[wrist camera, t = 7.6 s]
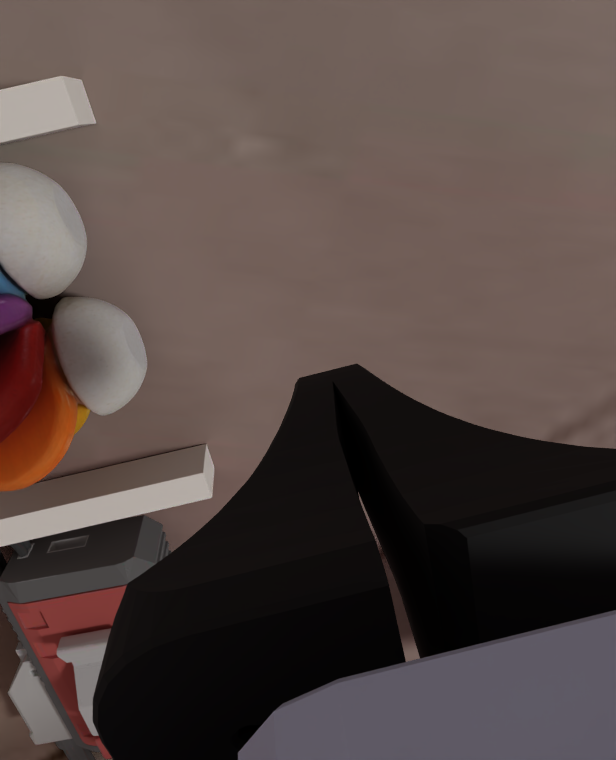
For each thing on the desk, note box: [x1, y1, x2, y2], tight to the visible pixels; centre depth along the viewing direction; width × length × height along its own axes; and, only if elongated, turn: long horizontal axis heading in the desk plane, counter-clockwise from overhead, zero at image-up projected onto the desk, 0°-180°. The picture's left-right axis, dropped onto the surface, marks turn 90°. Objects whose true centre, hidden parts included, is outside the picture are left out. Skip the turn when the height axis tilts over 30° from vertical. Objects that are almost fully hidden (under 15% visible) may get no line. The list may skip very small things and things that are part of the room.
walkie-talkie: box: [0, 515, 172, 760], centre depth 26 cm, size 9×4×20 cm
